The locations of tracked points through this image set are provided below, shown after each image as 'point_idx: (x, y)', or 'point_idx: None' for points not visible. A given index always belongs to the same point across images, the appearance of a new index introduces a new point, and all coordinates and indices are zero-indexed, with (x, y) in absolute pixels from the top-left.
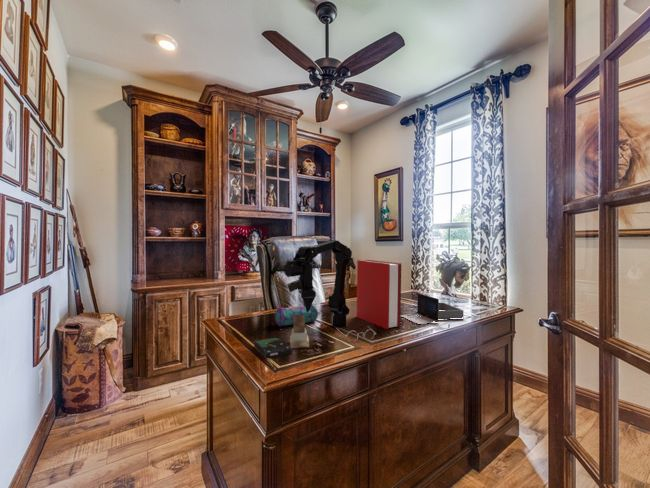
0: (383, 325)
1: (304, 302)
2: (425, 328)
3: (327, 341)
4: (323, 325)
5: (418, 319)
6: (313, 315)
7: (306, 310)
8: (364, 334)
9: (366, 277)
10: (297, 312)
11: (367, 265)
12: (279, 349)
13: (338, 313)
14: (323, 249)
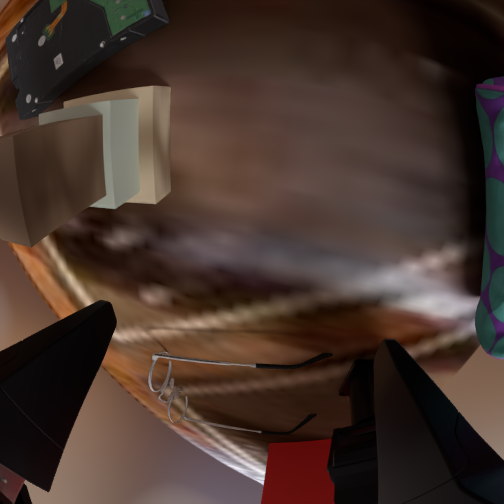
0: (289, 448)
1: (395, 389)
2: (258, 468)
3: (157, 282)
4: (410, 326)
5: None
6: (483, 318)
7: (90, 307)
8: (168, 398)
9: None
10: None
11: None
12: (18, 71)
13: (362, 425)
14: None
